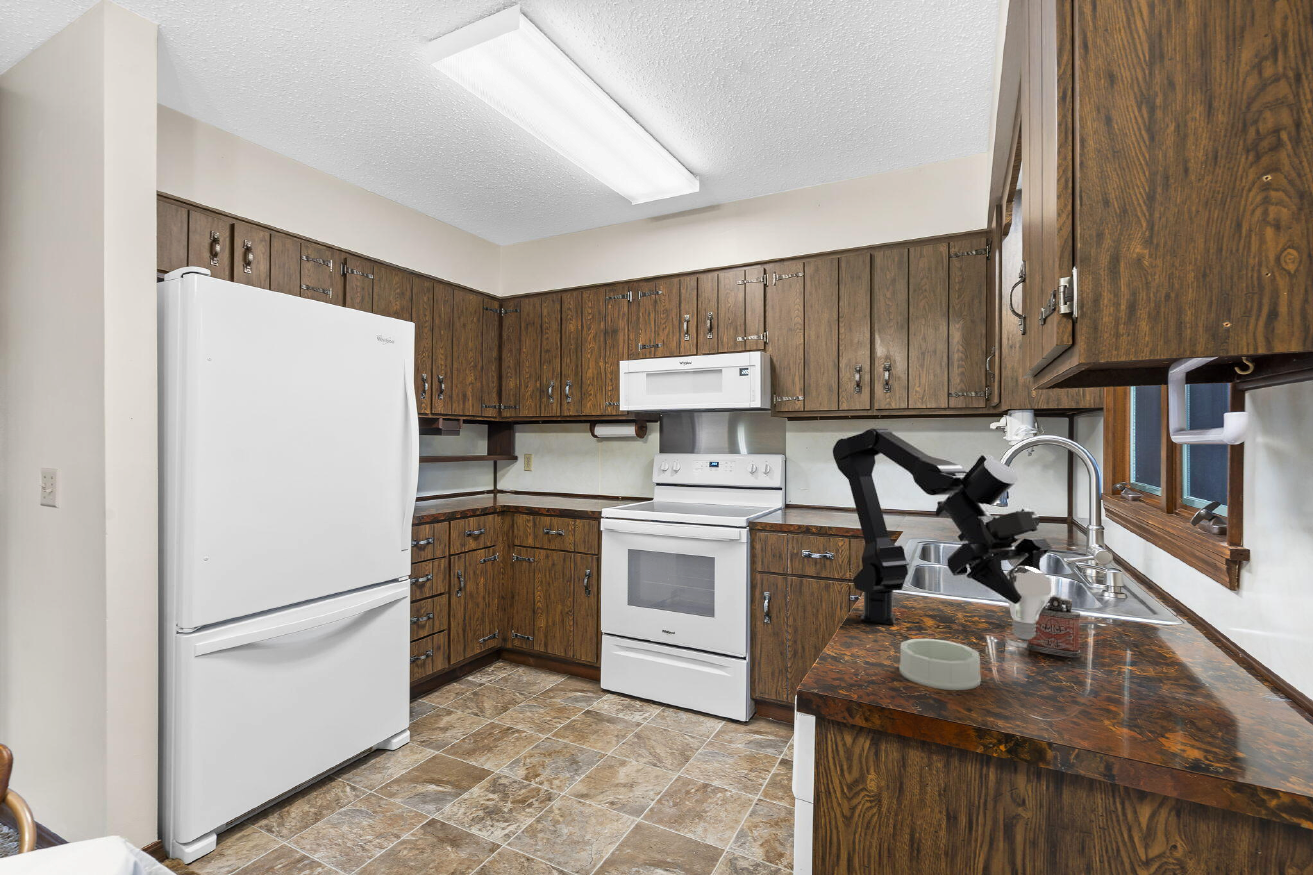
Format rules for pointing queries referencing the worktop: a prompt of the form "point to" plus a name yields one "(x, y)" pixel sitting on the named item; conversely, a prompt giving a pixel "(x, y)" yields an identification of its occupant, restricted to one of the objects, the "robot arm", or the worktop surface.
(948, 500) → the robot arm
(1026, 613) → the light bulb
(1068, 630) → the lighter
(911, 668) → the bulb holder
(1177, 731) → the worktop surface
